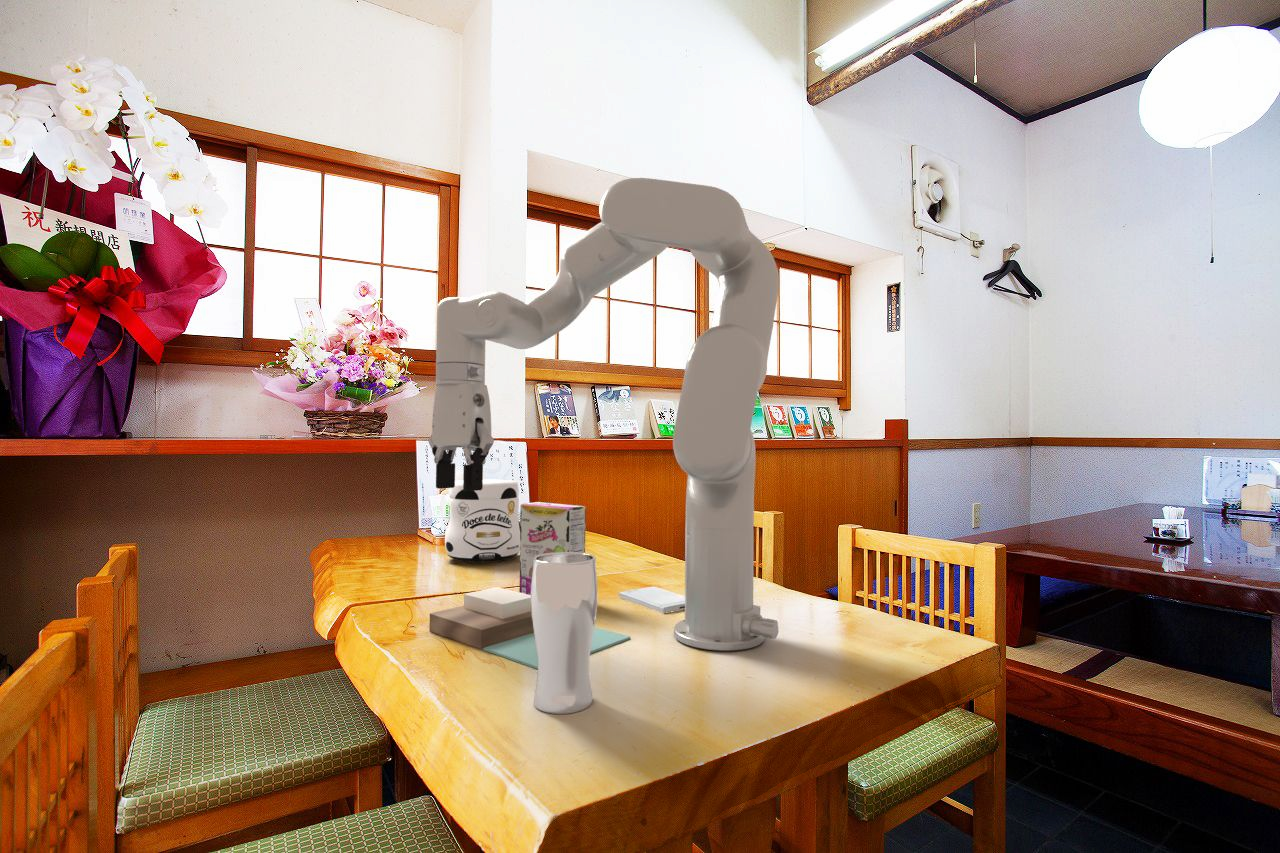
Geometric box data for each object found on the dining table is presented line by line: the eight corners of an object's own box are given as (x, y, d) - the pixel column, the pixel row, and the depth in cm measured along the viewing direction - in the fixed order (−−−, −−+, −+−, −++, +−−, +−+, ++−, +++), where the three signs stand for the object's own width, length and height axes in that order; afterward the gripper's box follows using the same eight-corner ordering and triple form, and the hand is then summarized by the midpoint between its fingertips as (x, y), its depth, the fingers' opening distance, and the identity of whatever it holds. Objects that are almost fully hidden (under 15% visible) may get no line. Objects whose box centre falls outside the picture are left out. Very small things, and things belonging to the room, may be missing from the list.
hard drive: (618, 591, 108) (663, 606, 98) (655, 585, 113) (701, 599, 103) (618, 601, 108) (663, 617, 98) (655, 595, 113) (701, 609, 103)
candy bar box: (517, 598, 107) (518, 503, 107) (536, 592, 111) (537, 501, 112) (567, 607, 101) (568, 507, 101) (586, 601, 105) (587, 505, 106)
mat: (630, 638, 85) (630, 636, 85) (543, 671, 73) (543, 668, 73) (571, 622, 92) (571, 620, 92) (483, 650, 80) (483, 647, 80)
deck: (569, 622, 93) (569, 605, 93) (481, 649, 80) (481, 629, 80) (517, 608, 100) (517, 593, 100) (429, 631, 88) (429, 613, 88)
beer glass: (532, 689, 67) (534, 551, 68) (596, 687, 68) (597, 551, 68) (526, 717, 60) (528, 563, 61) (597, 715, 61) (598, 563, 61)
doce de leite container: (481, 570, 130) (482, 485, 131) (428, 561, 140) (429, 481, 140) (537, 558, 145) (538, 481, 145) (485, 550, 154) (486, 478, 155)
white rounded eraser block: (535, 610, 90) (535, 596, 90) (502, 618, 85) (502, 604, 85) (496, 599, 96) (496, 586, 96) (463, 607, 91) (463, 594, 91)
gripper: (514, 375, 96) (512, 491, 95) (449, 382, 107) (447, 485, 106) (473, 370, 90) (472, 493, 89) (409, 378, 101) (407, 487, 100)
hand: (458, 488), depth 98 cm, fingers open, 6 cm apart
